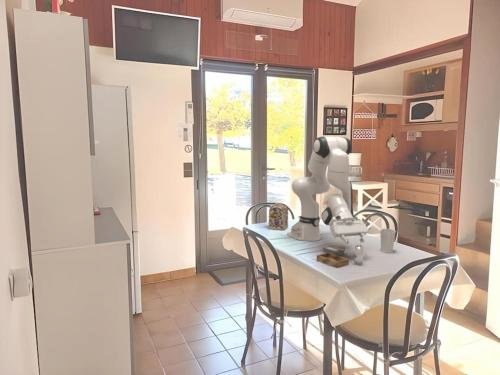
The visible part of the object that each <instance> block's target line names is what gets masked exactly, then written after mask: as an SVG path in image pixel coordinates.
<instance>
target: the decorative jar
mask: <svg viewBox="0 0 500 375" xmlns="http://www.w3.org/2000/svg"><path fill="white" fill-rule="evenodd" d="M288 227H289V208H288V205H285V204H283V203H282V202H275V204H272V205H270V207H269V209H268V230H272V231H273V230H274V231H275V230H276V231H286V230H287V229H288Z"/></svg>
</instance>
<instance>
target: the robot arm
mask: <svg viewBox="0 0 500 375" xmlns="http://www.w3.org/2000/svg"><path fill="white" fill-rule="evenodd" d="M312 147H313V148H312V149H313V150H312V152H311V154H310V158H309V161H308V164H307V168H308V171H309V172H310V173H311V176H301V177H297V178H295V179H293V181H292V182H291V190H292V193H294V194H295V195H296V197H298V199H299V201H300V207H301V208H300V210H301V212H300V214H301V215H299V216H297V217H298V221H297V222H296V223H295V224H293V225H292V226H291V228H290V231H289V232H287V234H286V235H287V236H288V237H290V238H293V239H295V240H297V241H308V242H314V241H320V240H321V239H322V236H321V231H320V222H321V221H320V220H322V222H323V223H324V225H326V226H329V230H330V233H331V235H332V237H334V238H340V240H342V241H343V242H344V244H345V245H346V244H347V245H348V244H350V243H349V240H348V238H346V237H356V236H357V237H358V236H359V237H360V239H359V242H360V243H364V242H365V238H364V237H365V236H366V235H367V234H368V233H369V228H368V226H367V225H366V224H365V222H364V220H362V219H359V218H355V214H354V213H355V212H354V209H353V208H354V207H353V199H354V198H353V185H352V182H351V181H350V179H349V166H350V164H349V163H350V162H349V155H350V154H351V152H352V149H353V143H352V141H351V140H350V139H349V138H347V137H342V136H341V137H340V136H318V137H317V138H315V140H314V142H313V146H312ZM331 186H332V187H334V188H337V189H338V190H339V191H340V192H341V194H342V195H341V194H332V195H330V196H328V198H327V205H326V207H325V209H324V210H322V212H321V216H320V203H319V202H318V201H316V200H315V199H314V197H313V195H322V194H326V193H328V192H329V190H330V189H331V188H330V187H331Z"/></svg>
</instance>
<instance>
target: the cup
mask: <svg viewBox="0 0 500 375" xmlns="http://www.w3.org/2000/svg"><path fill="white" fill-rule="evenodd" d="M379 231H380V252H381V253H385V254H392V253H393V252H394V245H395V237H396V232H397V231H396V230H395V229H390V228H381V229H380V230H379Z"/></svg>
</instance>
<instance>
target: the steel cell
mask: <svg viewBox="0 0 500 375" xmlns="http://www.w3.org/2000/svg"><path fill="white" fill-rule="evenodd" d="M363 254H364V246H363V245H361V244H357V245H355V246H354V258H353V260H354V261H353V264H354V265H356V266H363V262H364V261H363V258H364V256H363Z"/></svg>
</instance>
